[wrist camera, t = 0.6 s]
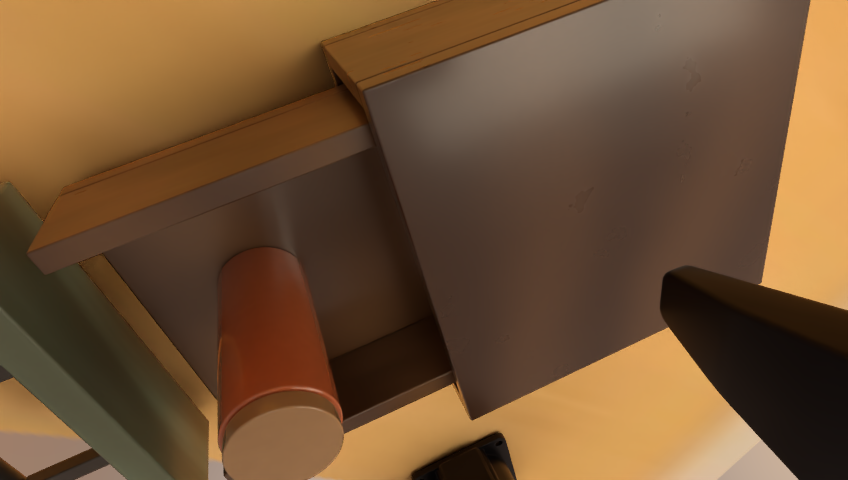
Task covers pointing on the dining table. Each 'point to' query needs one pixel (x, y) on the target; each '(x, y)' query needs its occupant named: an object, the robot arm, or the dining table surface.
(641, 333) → the cabinet
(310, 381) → the spice jar
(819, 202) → the dining table surface
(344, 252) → the drawer
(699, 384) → the dining table surface
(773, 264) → the dining table surface
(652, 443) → the dining table surface
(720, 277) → the robot arm
